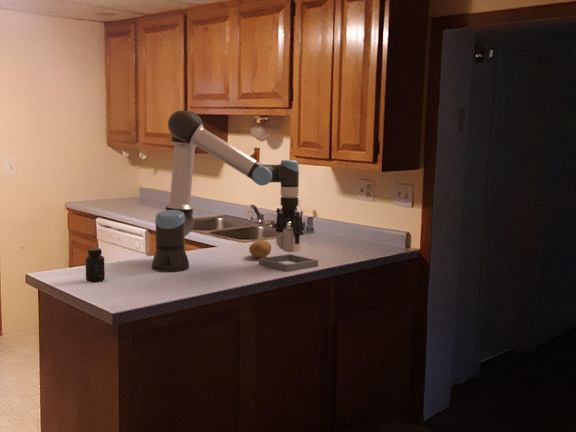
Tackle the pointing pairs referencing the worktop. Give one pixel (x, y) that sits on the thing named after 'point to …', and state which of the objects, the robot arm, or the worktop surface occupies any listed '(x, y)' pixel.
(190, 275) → the worktop surface
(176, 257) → the robot arm
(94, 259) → the supplement bottle
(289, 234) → the cup
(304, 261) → the tray
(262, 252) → the potato
